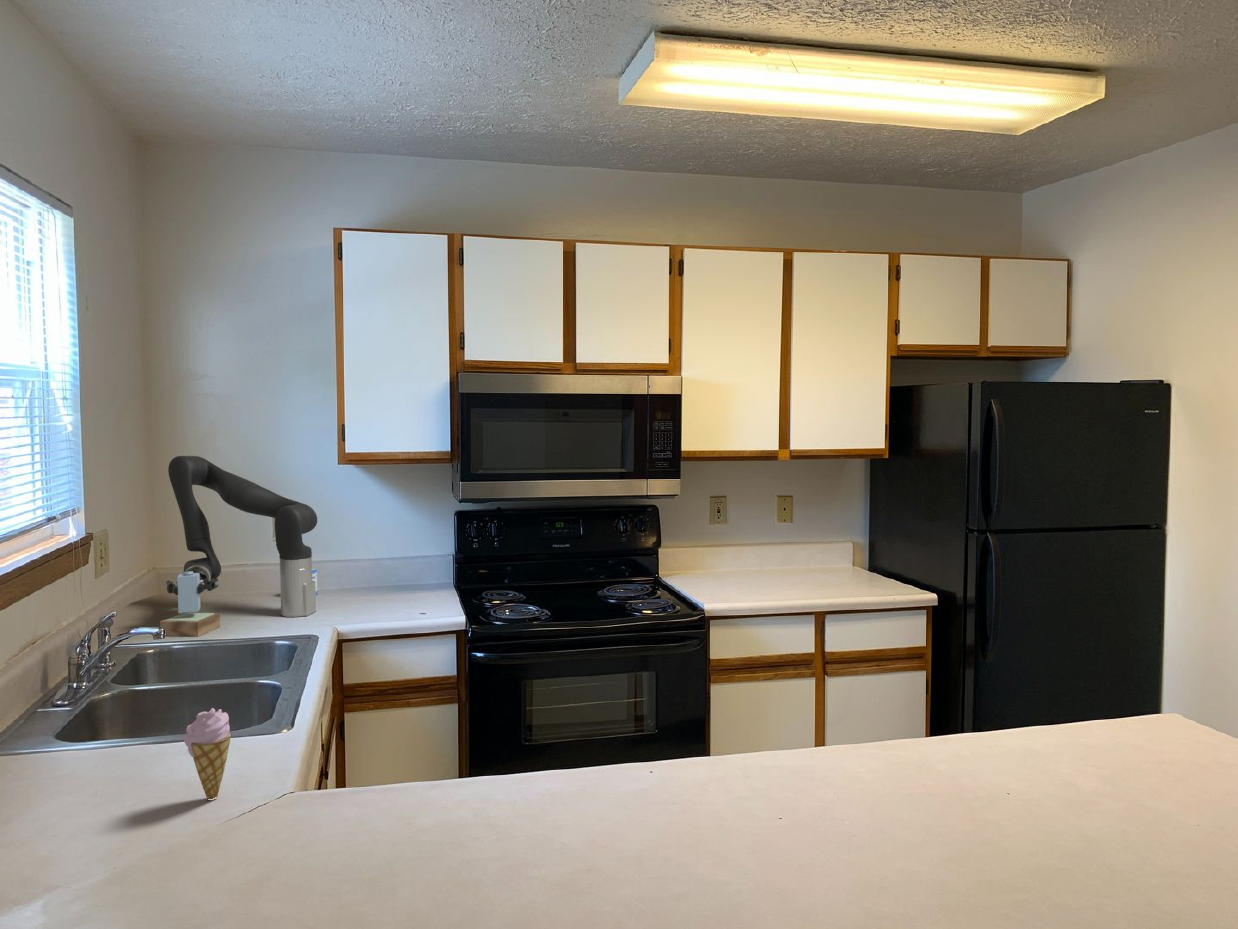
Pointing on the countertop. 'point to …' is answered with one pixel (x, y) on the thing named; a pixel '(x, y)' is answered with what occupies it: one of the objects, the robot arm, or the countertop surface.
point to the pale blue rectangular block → (188, 592)
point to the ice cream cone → (209, 748)
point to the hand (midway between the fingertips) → (187, 590)
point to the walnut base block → (190, 624)
